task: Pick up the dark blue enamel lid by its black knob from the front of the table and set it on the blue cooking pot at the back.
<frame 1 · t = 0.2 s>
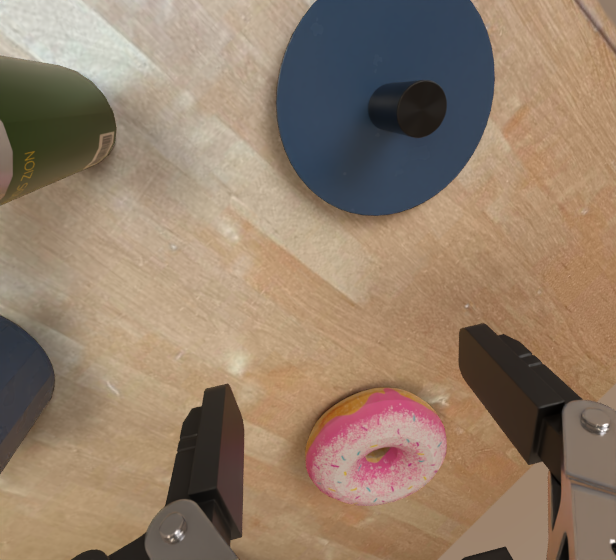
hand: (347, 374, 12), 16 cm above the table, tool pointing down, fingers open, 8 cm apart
lid: (385, 107, 22), point 1 cm above the table
donut: (368, 425, 37), on the table
beer can: (72, 118, 21), on the table
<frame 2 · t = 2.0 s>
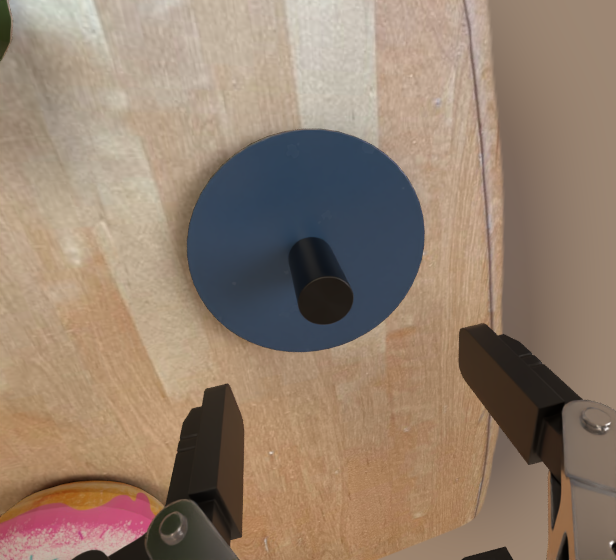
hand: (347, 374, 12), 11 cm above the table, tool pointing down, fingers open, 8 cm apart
lid: (309, 254, 21), point 1 cm above the table
donut: (100, 516, 31), on the table
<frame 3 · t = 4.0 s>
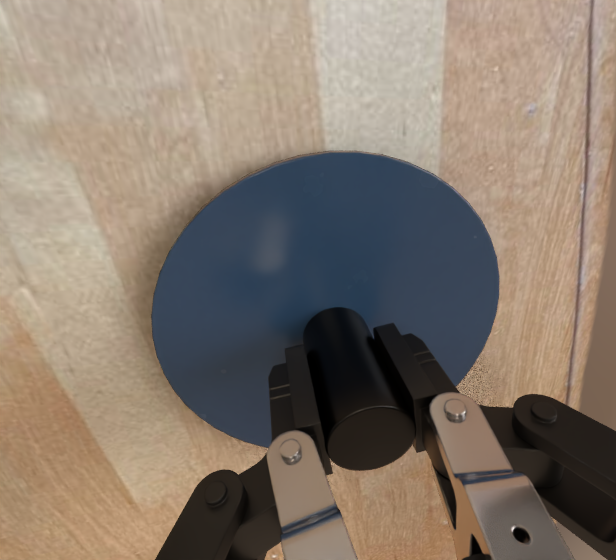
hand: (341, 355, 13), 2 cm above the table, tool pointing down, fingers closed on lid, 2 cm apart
lid: (332, 327, 15), point 1 cm above the table, touching gripper
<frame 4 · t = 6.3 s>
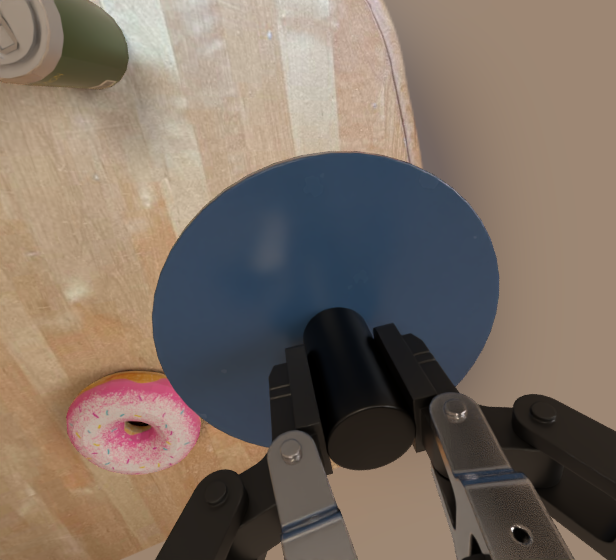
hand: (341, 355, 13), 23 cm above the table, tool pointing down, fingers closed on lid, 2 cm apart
lid: (332, 327, 15), point 21 cm above the table, touching gripper
donut: (145, 405, 42), on the table
beer can: (93, 48, 26), on the table
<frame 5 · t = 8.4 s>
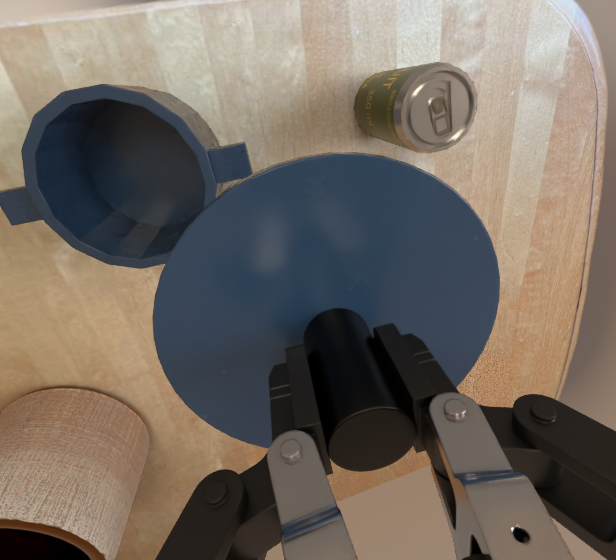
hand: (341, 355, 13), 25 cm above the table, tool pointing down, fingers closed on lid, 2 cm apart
lid: (333, 328, 15), point 24 cm above the table, touching gripper
planter: (80, 432, 46), on the table
blue cooking pot: (153, 165, 33), on the table
beer can: (379, 105, 33), on the table
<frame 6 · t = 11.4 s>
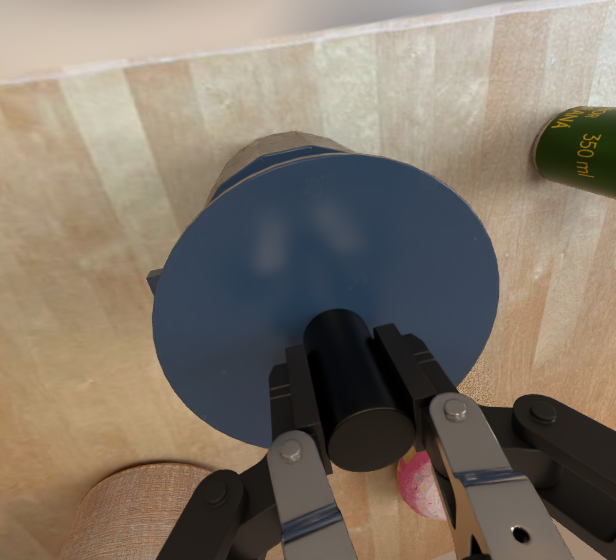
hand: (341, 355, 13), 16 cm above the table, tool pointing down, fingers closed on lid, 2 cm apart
lid: (332, 328, 15), point 15 cm above the table, touching gripper
planter: (167, 505, 41), on the table
donut: (442, 452, 44), on the table
blue cooking pot: (293, 220, 28), on the table
beer can: (559, 144, 28), on the table
when the fingers open (10 cm above the table, at t = 13.2 s): lid stays where it is, resting on blue cooking pot.
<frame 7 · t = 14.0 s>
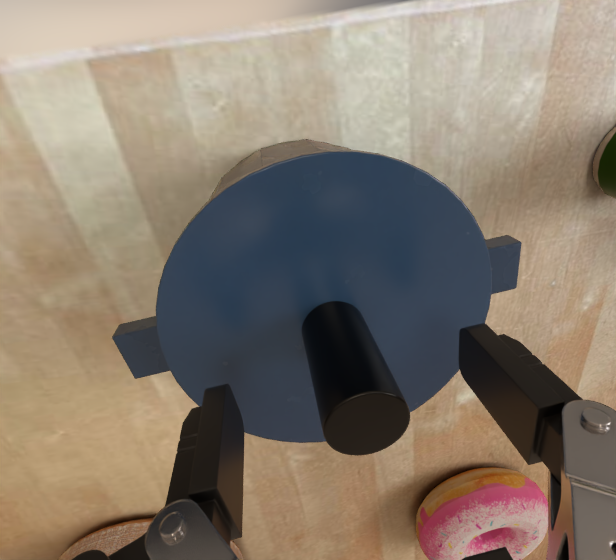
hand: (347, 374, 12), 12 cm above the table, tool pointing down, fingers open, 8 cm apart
lid: (330, 320, 15), point 8 cm above the table, touching blue cooking pot
donut: (467, 496, 39), on the table
blue cooking pot: (303, 246, 23), on the table
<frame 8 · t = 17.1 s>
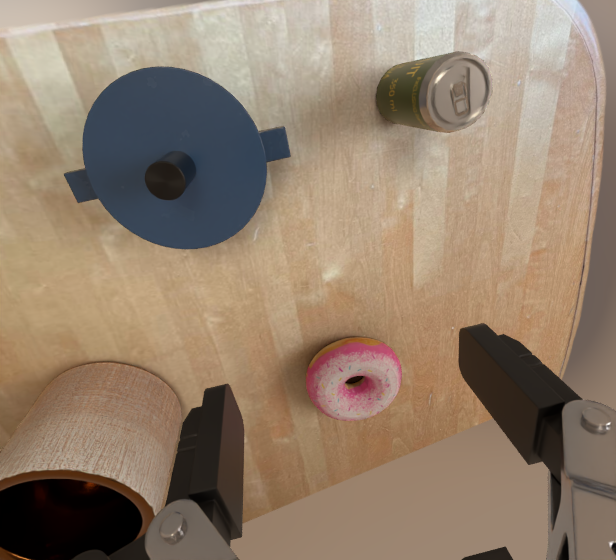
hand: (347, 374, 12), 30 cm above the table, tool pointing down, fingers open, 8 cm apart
lid: (179, 167, 29), point 8 cm above the table, touching blue cooking pot
planter: (116, 406, 50), on the table
donut: (349, 367, 52), on the table
blue cooking pot: (194, 152, 36), on the table
beer can: (398, 94, 36), on the table
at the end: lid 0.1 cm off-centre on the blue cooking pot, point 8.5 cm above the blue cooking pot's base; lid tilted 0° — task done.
